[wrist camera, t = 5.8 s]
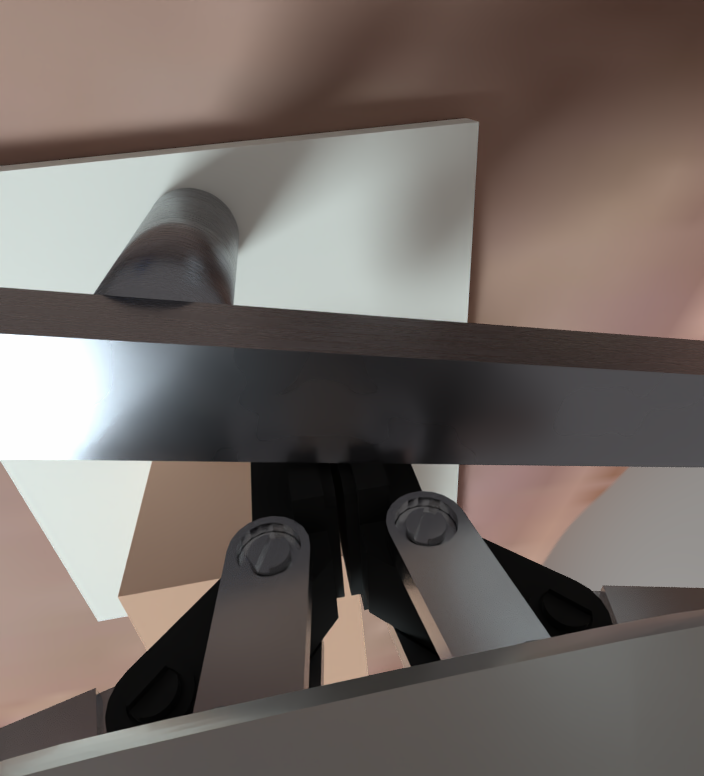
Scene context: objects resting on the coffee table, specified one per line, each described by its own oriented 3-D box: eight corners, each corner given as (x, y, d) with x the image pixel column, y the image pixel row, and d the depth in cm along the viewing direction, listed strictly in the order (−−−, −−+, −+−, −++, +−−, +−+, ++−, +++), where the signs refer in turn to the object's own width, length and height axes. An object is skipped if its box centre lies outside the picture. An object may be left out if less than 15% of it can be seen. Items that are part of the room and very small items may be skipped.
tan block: (156, 444, 18) (117, 597, 13) (327, 417, 18) (355, 553, 13) (209, 586, 22) (195, 739, 17) (345, 561, 23) (371, 703, 18)
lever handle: (118, 270, 14) (-9, 470, 7) (110, 178, 13) (-53, 315, 6) (541, 306, 17) (734, 475, 10) (568, 233, 16) (809, 371, 9)
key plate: (-139, 180, 13) (-165, 188, 12) (466, 117, 14) (479, 121, 14) (103, 601, 23) (98, 621, 22) (446, 538, 24) (453, 555, 24)
